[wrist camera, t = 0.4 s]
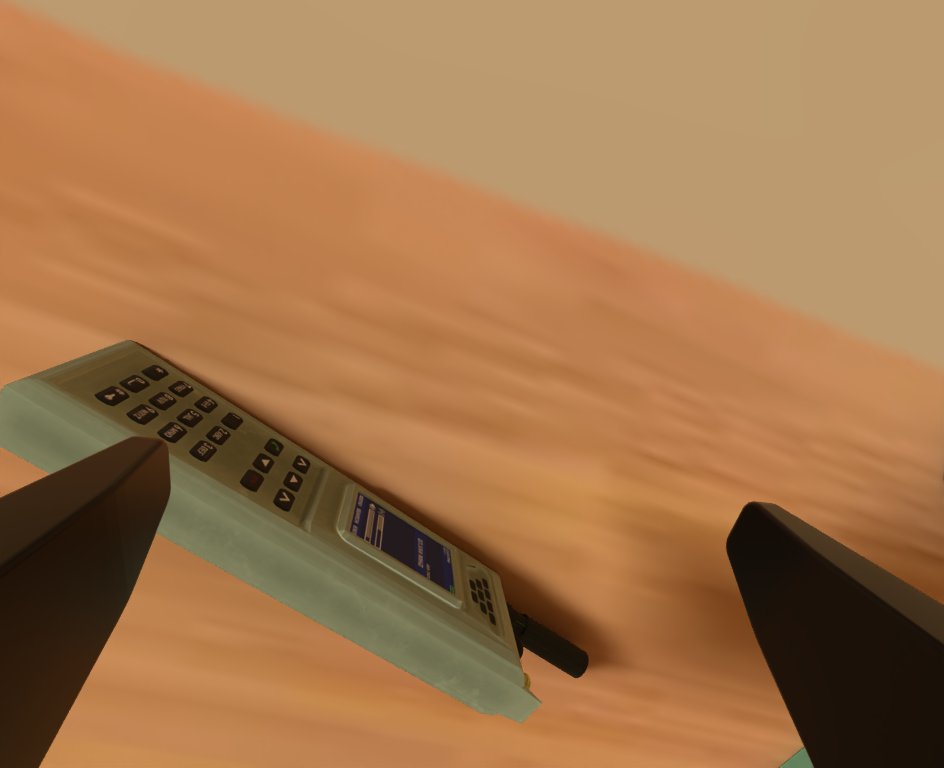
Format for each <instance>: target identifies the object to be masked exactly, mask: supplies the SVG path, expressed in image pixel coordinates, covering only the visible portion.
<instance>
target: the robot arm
mask: <svg viewBox="0 0 944 768" xmlns="http://www.w3.org/2000/svg"><path fill="white" fill-rule="evenodd" d="M170 492H171V479H170V463H169V449H168V445H167V442H166V441H165V440H163V439H161V438H153V437H143V436H132V437H130V438H127V439H125V440H123V441H121V442H119V443H116V444H114V445H112V446H110V447H108V448H106V449H104V450H101V451H99V452H97V453H95V454H93V455H91V456H89V457H86V458H84V459H82V460H80V461H78V462H76V463H74V464H71V465H69V466H67V467H65V468H63V469H61V470H59V471H57V472H54V473H52V474H50V475H48V476H46V477H44V478H42V479H39V480H37V481H35V482H33V483H31V484H29V485H27V486H24V487H22V488H20V489H18V490H16V491H14V492H12V493H9V494H7V495H5V496H3V497H1V498H0V768H39V766H40V765H41V763H42V761H43V759H44V757H45V755H46V753H47V752H48V750H49V748H50V746H51V744H52V742H53V740H54V739H55V737H56V735H57V733H58V731H59V729H60V728H61V726H62V724H63V722H64V720H65V718H66V716H67V715H68V713H69V711H70V709H71V707H72V705H73V703H74V702H75V700H76V698H77V696H78V694H79V692H80V691H81V689H82V687H83V685H84V683H85V681H86V679H87V678H88V676H89V674H90V672H91V670H92V668H93V666H94V665H95V663H96V661H97V659H98V657H99V655H100V653H101V652H102V650H103V648H104V646H105V644H106V642H107V641H108V639H109V637H110V635H111V633H112V631H113V629H114V628H115V626H116V624H117V622H118V620H119V618H120V616H121V614H122V612H123V610H124V608H125V606H126V605H127V603H128V601H129V598H130V596H131V594H132V591H133V589H134V587H135V584H136V582H137V579H138V577H139V574H140V572H141V569H142V567H143V564H144V562H145V559H146V557H147V554H148V552H149V549H150V547H151V544H152V542H153V539H154V537H155V534H156V532H157V529H158V527H159V524H160V521H161V519H162V516H163V514H164V511H165V509H166V506H167V504H168V501H169V497H170ZM726 549H727V554H728V557H729V560H730V563H731V566H732V569H733V572H734V575H735V578H736V581H737V584H738V587H739V590H740V593H741V596H742V599H743V602H744V604H745V607H746V610H747V613H748V616H749V619H750V622H751V625H752V628H753V631H754V633H755V636H756V639H757V641H758V644H759V646H760V648H761V651H762V653H763V655H764V658H765V660H766V662H767V664H768V667H769V669H770V671H771V673H772V676H773V678H774V680H775V682H776V684H777V687H778V689H779V691H780V693H781V696H782V698H783V700H784V702H785V705H786V707H787V709H788V711H789V714H790V716H791V718H792V720H793V723H794V725H795V727H796V729H797V731H798V734H799V736H800V738H801V740H802V743H803V745H804V747H805V749H806V752H807V754H808V756H809V758H810V761H811V763H812V765H813V767H814V768H944V605H942V604H941V603H939V602H937V601H936V600H934V599H932V598H931V597H929V596H927V595H926V594H924V593H922V592H921V591H919V590H917V589H916V588H914V587H912V586H911V585H909V584H907V583H906V582H904V581H902V580H901V579H899V578H897V577H896V576H894V575H892V574H891V573H889V572H887V571H886V570H884V569H882V568H881V567H879V566H877V565H876V564H874V563H872V562H871V561H869V560H867V559H866V558H864V557H862V556H861V555H859V554H857V553H856V552H854V551H852V550H851V549H849V548H847V547H846V546H844V545H843V544H841V543H839V542H838V541H836V540H834V539H833V538H831V537H829V536H828V535H826V534H824V533H823V532H821V531H819V530H818V529H816V528H814V527H813V526H811V525H809V524H808V523H806V522H804V521H803V520H801V519H799V518H798V517H796V516H794V515H793V514H791V513H789V512H788V511H786V510H784V509H783V508H781V507H779V506H778V505H776V504H772V503H764V502H755V501H753V502H749V503H748V504H746V505H745V506H744V508H743V509H742V511H741V513H740V515H739V517H738V519H737V520H736V522H735V524H734V526H733V528H732V530H731V532H730V534H729V536H728V538H727V542H726Z"/></svg>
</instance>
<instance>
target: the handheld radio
mask: <svg viewBox="0 0 944 768" xmlns="http://www.w3.org/2000/svg"><path fill="white" fill-rule="evenodd" d="M132 436H143V437H153V438H161V439H163V440H165V441H166V442H167V445H168V449H169V463H170V479H171V492H170V497H169V501H168V504H167V506H166V509H165V511H164V514H163V516H162V519H161V521H160V524H159V527H158V529H157V532H156V533H157V534H159V535H161V536H163V537H165V538H166V539H168V540H170V541H172V542H174V543H175V544H177V545H179V546H181V547H183V548H184V549H186V550H188V551H190V552H192V553H193V554H195V555H197V556H199V557H201V558H202V559H204V560H206V561H208V562H210V563H211V564H213V565H215V566H217V567H219V568H220V569H222V570H224V571H226V572H228V573H229V574H231V575H233V576H235V577H237V578H238V579H240V580H242V581H244V582H246V583H247V584H249V585H251V586H253V587H255V588H256V589H258V590H260V591H262V592H264V593H265V594H267V595H269V596H271V597H273V598H275V599H276V600H278V601H280V602H282V603H284V604H285V605H287V606H289V607H291V608H293V609H294V610H296V611H298V612H300V613H302V614H303V615H305V616H307V617H309V618H311V619H312V620H314V621H316V622H318V623H320V624H321V625H323V626H325V627H327V628H329V629H330V630H332V631H334V632H336V633H338V634H339V635H341V636H343V637H345V638H347V639H348V640H350V641H352V642H354V643H356V644H357V645H359V646H361V647H363V648H365V649H366V650H368V651H370V652H372V653H374V654H376V655H377V656H379V657H381V658H383V659H385V660H386V661H388V662H390V663H392V664H394V665H395V666H397V667H399V668H401V669H403V670H404V671H406V672H408V673H410V674H412V675H413V676H415V677H417V678H419V679H421V680H422V681H424V682H426V683H428V684H430V685H431V686H433V687H435V688H437V689H439V690H440V691H442V692H444V693H446V694H448V695H449V696H451V697H453V698H455V699H457V700H458V701H460V702H462V703H464V704H466V705H467V706H469V707H471V708H473V709H475V710H476V711H478V712H480V713H482V714H488V715H496V714H500V715H502V716H505V717H507V718H509V719H512V720H514V721H517V722H519V723H522V722H523V721H524V720H525V719H526V718H527V717H528V716H529V715H530V714H531V713H532V712H533V711H535V710H536V709H537V708H538V707H539V706H540V705H541V704H542V702H541V701H540V700H539V699H538V698H536V697H535V695H534V694H533V693H532V692H531V691H530V690H529V688H530V683H531V682H530V678H529V676H528V674H526V673H524V672H523V670H522V666H521V662H520V659H521V657H522V654H523V647H525V648H526V649H528V650H530V651H531V652H533V653H535V654H536V655H538V656H539V657H541V658H543V659H544V660H546V661H548V662H549V663H551V664H553V665H554V666H556V667H557V668H559V669H561V670H562V671H564V672H566V673H567V674H569V675H571V676H572V677H574V678H579V677H581V676H582V675H583V674H584V672H585V671H586V669H587V666H588V661H589V659H588V655H587V653H586V652H585V651H583V650H581V649H580V648H578V647H577V646H575V645H573V644H572V643H570V642H569V641H567V640H565V639H564V638H562V637H561V636H559V635H557V634H556V633H554V632H553V631H551V630H549V629H548V628H546V627H545V626H543V625H541V624H540V623H538V622H537V621H535V620H533V619H532V618H530V617H528V616H527V615H525V614H520V613H518V612H517V611H515V610H514V609H512V606H511V605H509V604H508V603H506V601H505V597H504V593H503V589H502V585H501V581H500V577H499V575H498V574H497V573H496V572H494V571H493V570H491V569H490V568H488V567H486V566H485V565H483V564H482V563H480V562H479V561H477V560H476V559H474V558H472V557H471V556H469V555H468V554H466V553H465V552H463V551H462V550H460V549H458V548H457V547H455V546H454V545H452V544H451V543H449V542H448V541H446V540H444V539H443V538H441V537H440V536H438V535H437V534H435V533H434V532H432V531H430V530H429V529H427V528H426V527H424V526H423V525H421V524H420V523H418V522H416V521H415V520H413V519H412V518H410V517H409V516H407V515H406V514H404V513H402V512H401V511H399V510H398V509H396V508H395V507H393V506H392V505H390V504H389V503H387V502H385V501H384V500H382V499H381V498H379V497H378V496H376V495H375V494H373V493H371V492H370V491H368V490H367V489H365V488H364V487H362V486H361V485H359V484H357V483H356V482H354V481H353V480H351V479H350V478H348V477H347V476H345V475H343V474H342V473H340V472H339V471H337V470H336V469H334V468H333V467H331V466H329V465H328V464H326V463H325V462H323V461H321V460H320V459H318V458H317V457H315V456H314V455H312V454H310V453H309V452H307V451H306V450H304V449H303V448H301V447H299V446H298V445H296V444H295V443H293V442H291V441H290V440H288V439H287V438H285V437H284V436H282V435H280V434H279V433H277V432H276V431H274V430H272V429H271V428H269V427H268V426H266V425H265V424H263V423H261V422H260V421H258V420H257V419H255V418H253V417H252V416H250V415H249V414H247V413H246V412H244V411H242V410H241V409H239V408H238V407H236V406H235V405H233V404H231V403H230V402H228V401H227V400H225V399H223V398H222V397H220V396H219V395H217V394H216V393H214V392H212V391H211V390H209V389H208V388H206V387H204V386H203V385H201V384H200V383H198V382H197V381H195V380H193V379H192V378H190V377H189V376H187V375H185V374H184V373H182V372H181V371H179V370H178V369H176V368H174V367H173V366H171V365H170V364H168V363H167V362H165V361H163V360H162V359H160V358H159V357H157V356H155V355H154V354H152V353H151V352H149V351H148V350H146V349H144V348H143V347H141V346H140V345H138V344H136V343H135V342H133V341H131V340H126V341H123V342H120V343H117V344H115V345H112V346H109V347H107V348H104V349H101V350H98V351H96V352H93V353H90V354H88V355H85V356H82V357H80V358H77V359H74V360H72V361H69V362H66V363H63V364H61V365H58V366H55V367H53V368H50V369H47V370H45V371H42V372H39V373H36V374H34V375H31V376H28V377H26V378H23V379H20V380H18V381H15V382H12V383H10V384H7V385H4V387H3V389H2V391H1V392H0V447H2V448H4V449H6V450H8V451H9V452H11V453H13V454H15V455H17V456H18V457H20V458H22V459H24V460H26V461H27V462H29V463H31V464H33V465H35V466H36V467H38V468H40V469H42V470H44V471H45V472H47V473H49V474H52V473H54V472H57V471H59V470H61V469H63V468H65V467H67V466H69V465H71V464H74V463H76V462H78V461H80V460H82V459H84V458H86V457H89V456H91V455H93V454H95V453H97V452H99V451H101V450H104V449H106V448H108V447H110V446H112V445H114V444H116V443H119V442H121V441H123V440H125V439H127V438H130V437H132Z"/></svg>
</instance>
